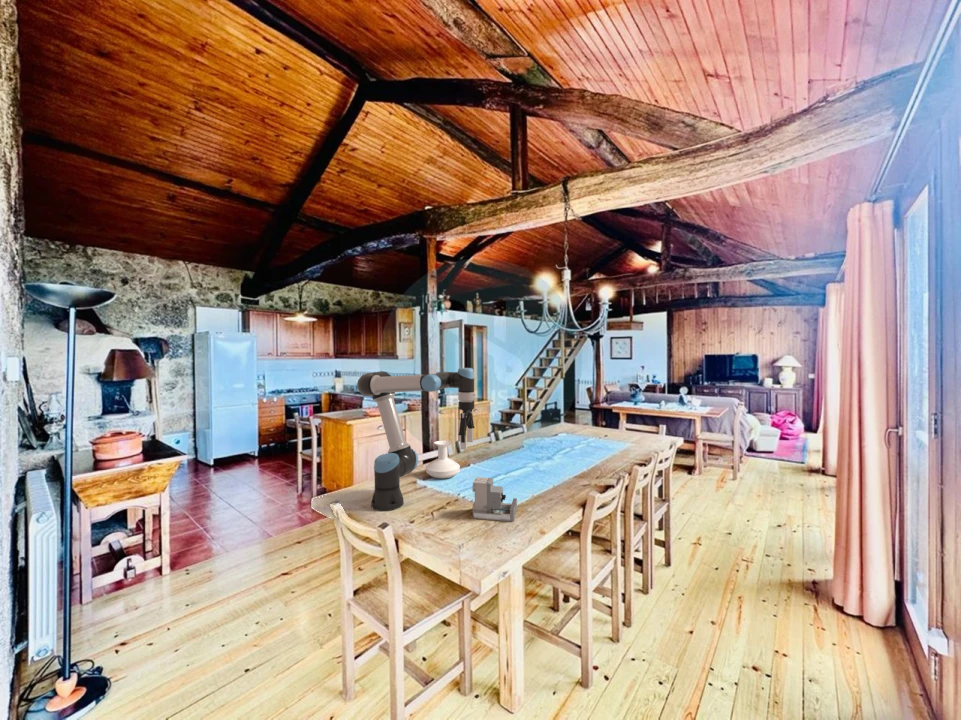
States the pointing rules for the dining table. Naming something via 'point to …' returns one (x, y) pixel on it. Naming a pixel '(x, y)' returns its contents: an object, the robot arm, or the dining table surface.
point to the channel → (500, 516)
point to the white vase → (442, 463)
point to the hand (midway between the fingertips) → (466, 445)
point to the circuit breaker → (487, 495)
